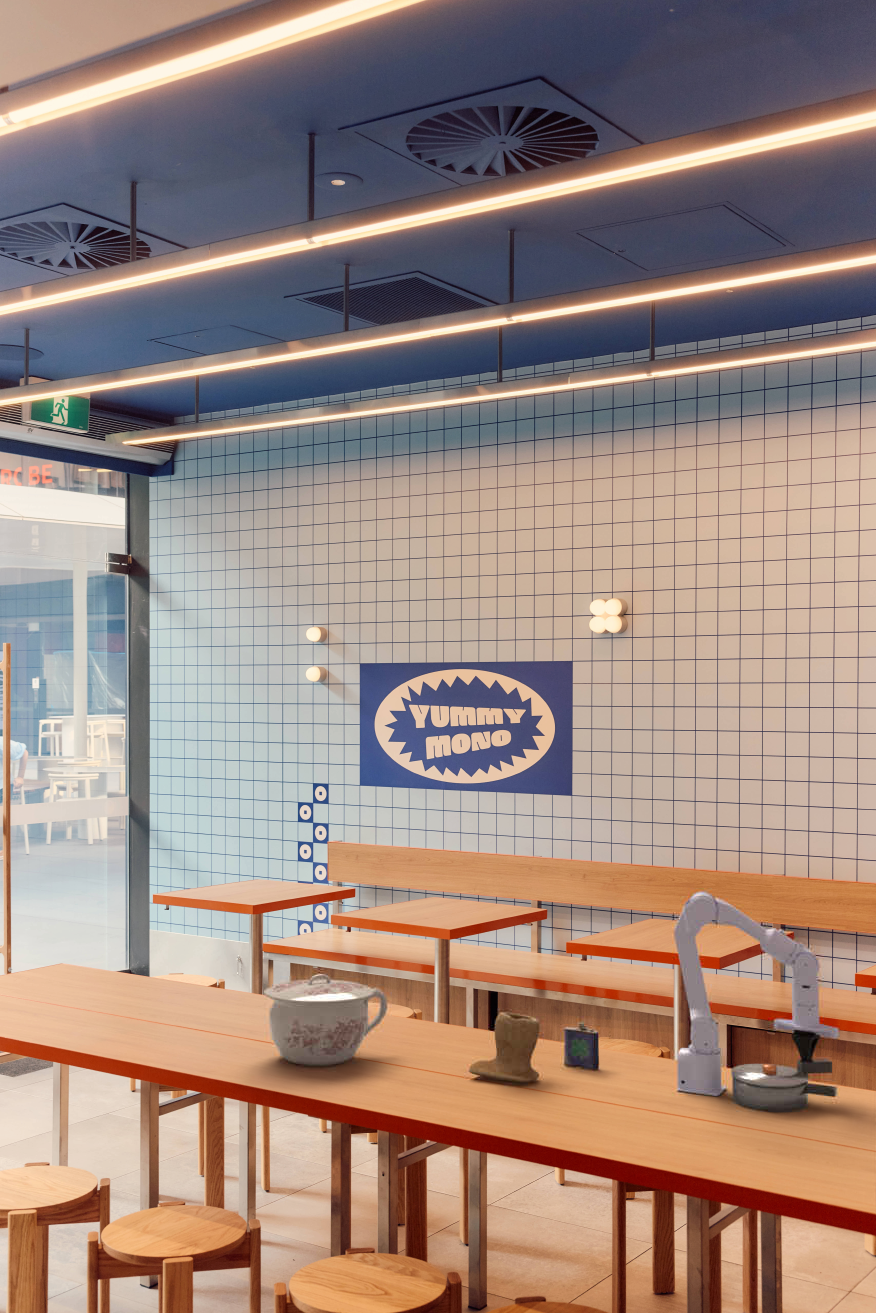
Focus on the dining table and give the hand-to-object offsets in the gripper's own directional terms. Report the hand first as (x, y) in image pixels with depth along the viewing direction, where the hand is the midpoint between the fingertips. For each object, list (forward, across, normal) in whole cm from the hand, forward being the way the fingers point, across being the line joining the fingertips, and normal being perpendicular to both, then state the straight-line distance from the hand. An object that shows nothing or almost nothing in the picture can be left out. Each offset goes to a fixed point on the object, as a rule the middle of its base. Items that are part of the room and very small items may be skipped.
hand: (806, 1066), depth 272 cm
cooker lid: (+2, -2, -7) cm, 8 cm away
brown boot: (+7, -57, -35) cm, 68 cm away
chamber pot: (+6, -102, -54) cm, 115 cm away
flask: (+7, -52, -14) cm, 54 cm away
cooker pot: (+7, -1, -9) cm, 11 cm away
